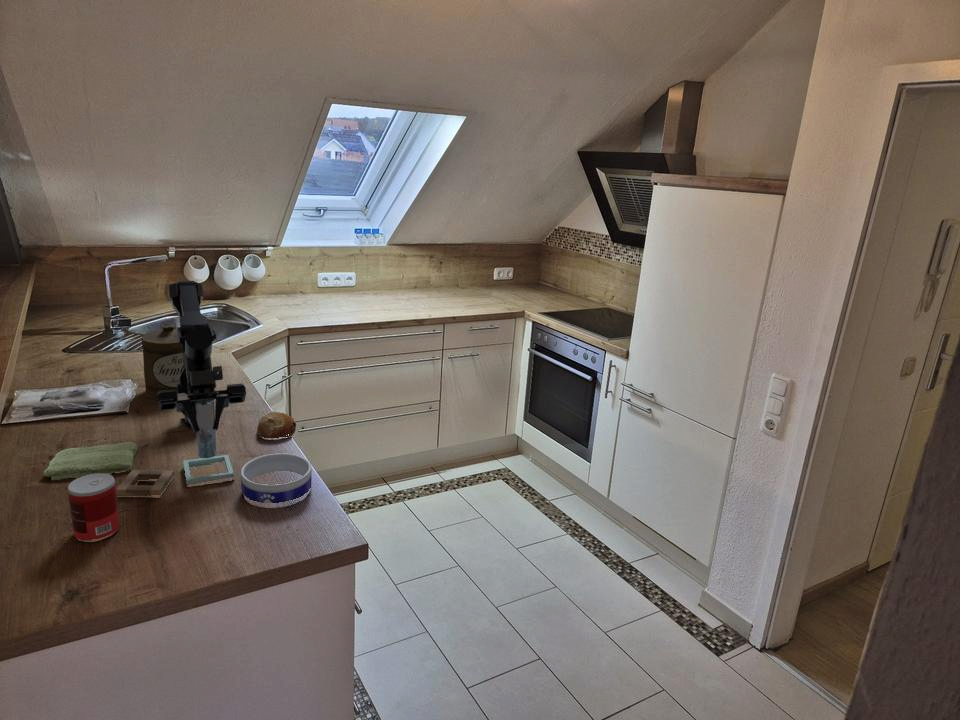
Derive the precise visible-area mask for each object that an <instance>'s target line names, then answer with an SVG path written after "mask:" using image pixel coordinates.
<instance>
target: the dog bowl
mask: <svg viewBox="0 0 960 720" xmlns="http://www.w3.org/2000/svg"><path fill="white" fill-rule="evenodd" d="M275 471H290V472H295V473H297V474H300V475H302V476H303V477H301V478H299V479H297V480H295V481H292V482H288V483H284V484H275V485H268V484H259V483H255V482H252V481H250V480H252V479H253V478H255V477H257V476H260V475H263V474H265V473H270V472H275ZM312 478H313V477H312V464H311V462H310V461H309V459H307V458H305V457H303V456H300V455H297V454H293V453H286V452H285V453H283V452H281V453H280V452H278V453H271V454H270V453H269V454H264V455H260V456H257V457H255V458H253V459H251V460H249V461H248V462H246V463H245V464H244V465H243V466H242V468H241V469H240V483H241V484H240V486H241V494H242V493H243V494H244V495H245V496H246V497H247V498H249V499H250V500H253V501H257V502H261V503H279V502H285V501H289V500H293V499H296V498H299V497H301V496H303V495H304V494H305V493H307V492H308V491H309V489H310V488H311V489H312Z"/></svg>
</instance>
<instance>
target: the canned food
mask: <svg viewBox="0 0 960 720" xmlns="http://www.w3.org/2000/svg"><path fill="white" fill-rule="evenodd" d="M116 489H117V486H116V480H115V478H114V476H113V475H112V474H104V473H97V474H90V475H86V476H82V477H80V478H76V479H73V480H71V482H70V483H69V484H68V486H67V493H68V494H67V495H68V501H69V502H68V503H69V509H70V515H71V516H70V517H71V523H72V531H73V535H74V537H75V539H76V538H78V539H81V540H92V539H98V538H102V537H105V536H107V535H109V534H111V533H113V532H114V531H116V530H117V529H118V530H119V528H118V527H120V523H121V522H120V517H119V506H118V498H117V495H116Z"/></svg>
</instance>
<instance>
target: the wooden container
mask: <svg viewBox="0 0 960 720" xmlns="http://www.w3.org/2000/svg"><path fill="white" fill-rule="evenodd" d="M141 346H142V357H143V376H144V377H143V378H144V384H145V385H144V388H145V395H146V396H147V398H149V399H151V400H155V401H158V399H157V393H158V392H159V391H162V390H173V389H176V393H177V384H180V383H179V379H180V376H181V374H182V372H183V370H184V358H183V348H182V344H179V342H178V335H177V328H175V324H174V323H172V322H164V323H163V324H162V325H161V329H156V330H151V331H148V332H146V333H144V334H142V335H141Z"/></svg>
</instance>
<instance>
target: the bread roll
mask: <svg viewBox="0 0 960 720" xmlns="http://www.w3.org/2000/svg"><path fill="white" fill-rule="evenodd" d="M296 428H297V423H296V421H295V419H294V417H292V416H290V415H289V414H287V413H284V412H280V411H279V412H278V411H273V410H271V411H268V412H266V413H265V414H263V416H261V418H260V419H259V421H258V425H257V430H256V433H257V436H258V437H259V436H261V437H264V438H279V437H289V436H290V437H292V436H293V435H294V434H295V432H296ZM288 434H289V436H288ZM286 435H287V436H286ZM290 437H289V438H290Z"/></svg>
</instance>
